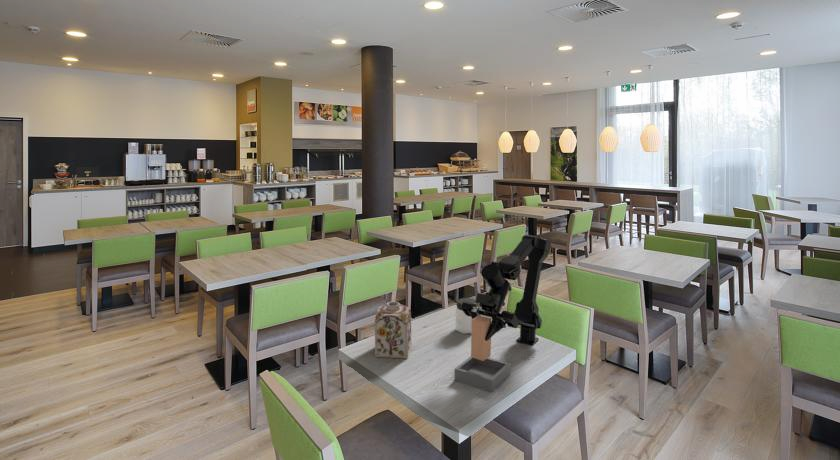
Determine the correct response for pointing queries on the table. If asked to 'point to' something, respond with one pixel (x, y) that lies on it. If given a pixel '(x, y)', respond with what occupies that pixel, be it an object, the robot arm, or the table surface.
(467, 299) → the jar
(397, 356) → the decorative jar
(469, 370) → the box
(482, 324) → the terracotta block
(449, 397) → the table surface
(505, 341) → the table surface
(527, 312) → the robot arm
